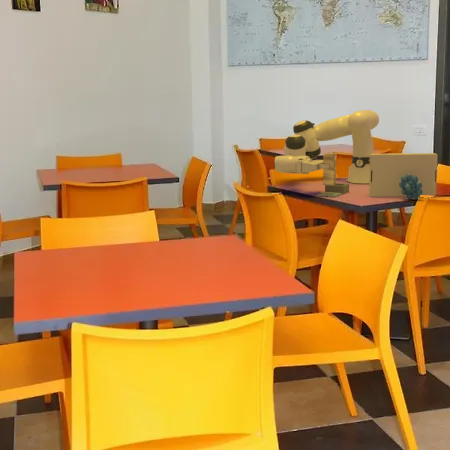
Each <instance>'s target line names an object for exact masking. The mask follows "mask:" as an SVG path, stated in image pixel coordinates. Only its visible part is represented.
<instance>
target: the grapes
mask: <svg viewBox="0 0 450 450" xmlns="http://www.w3.org/2000/svg"><path fill="white" fill-rule="evenodd" d="M401 181H402V182H400V183H399V186H400V188H402V190H401V192H402V194H403V195H407V197H406V198H407V199H408V200H409V201H410V200H412V199H414V200H419V198H420V197H419V195H422V193H423V191H422V189H420V188H421V187H422V183H421V182H419V181H418V177H417V176H412V175H411V174H409V173H408V174H406V177H405V176H402V177H401ZM417 181H418V182H417ZM418 197H419V198H418Z"/></svg>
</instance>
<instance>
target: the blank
mask: <svg viewBox="0 0 450 450" xmlns="http://www.w3.org/2000/svg"><path fill="white" fill-rule="evenodd" d="M322 158H323V159H322V160H323V164H324V165H326V164H327V165H330V168H328V169H326V168H325V169H322V185H323V186H325V185H335V184H336V183H337V178H336V177H337V153H336V152H333V153H332V152H325V153H323V154H322Z"/></svg>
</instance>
